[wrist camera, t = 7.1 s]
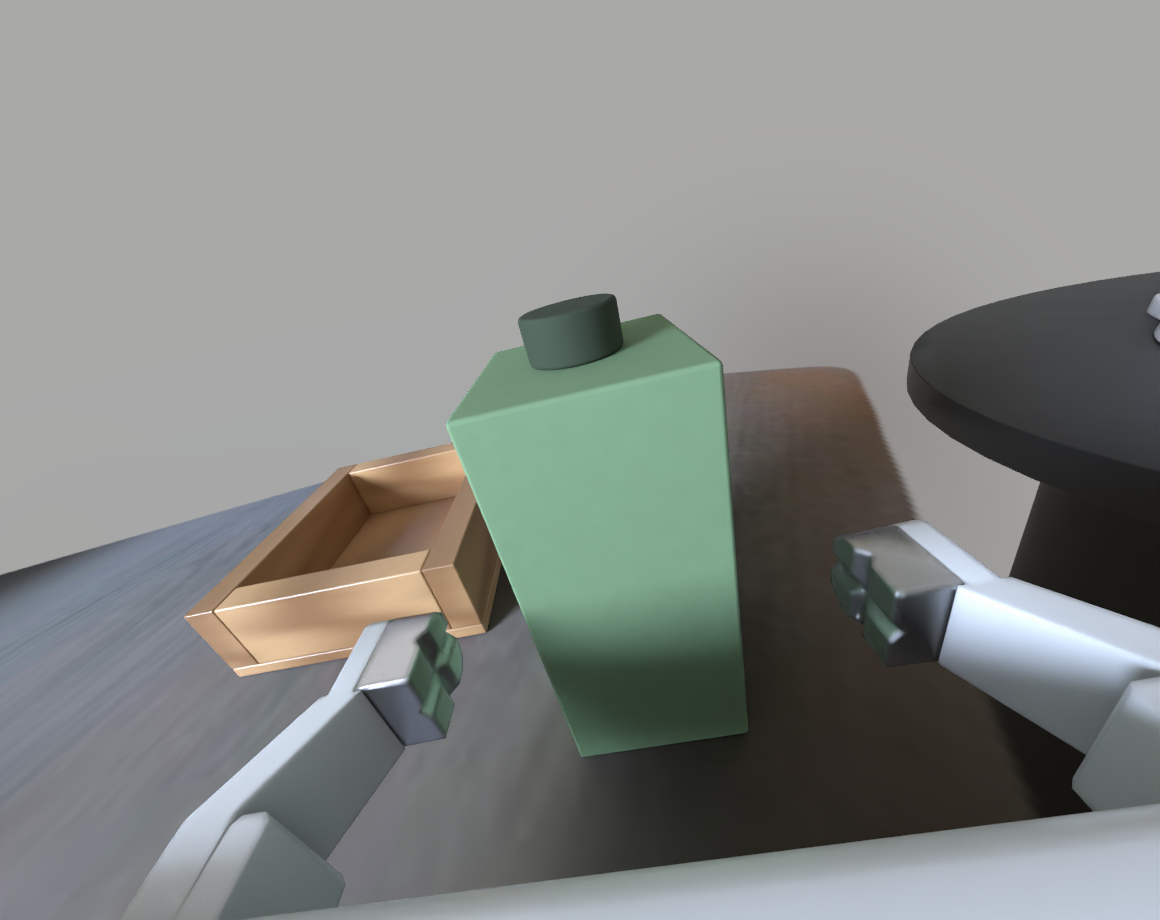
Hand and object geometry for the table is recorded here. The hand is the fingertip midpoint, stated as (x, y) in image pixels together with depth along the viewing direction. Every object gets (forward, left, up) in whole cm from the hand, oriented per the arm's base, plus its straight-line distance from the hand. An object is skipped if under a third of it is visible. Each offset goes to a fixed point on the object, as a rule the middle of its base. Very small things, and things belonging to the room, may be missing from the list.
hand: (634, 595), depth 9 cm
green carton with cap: (0, -2, -5) cm, 6 cm away
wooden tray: (+11, -10, -5) cm, 16 cm away
